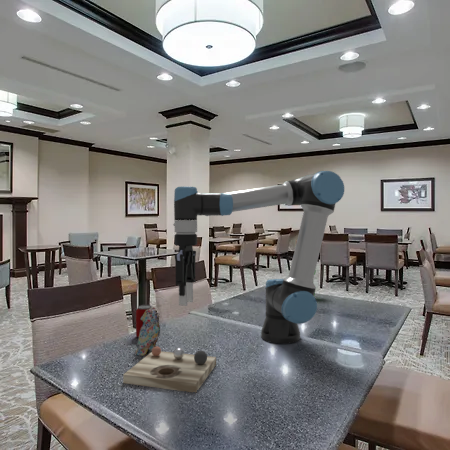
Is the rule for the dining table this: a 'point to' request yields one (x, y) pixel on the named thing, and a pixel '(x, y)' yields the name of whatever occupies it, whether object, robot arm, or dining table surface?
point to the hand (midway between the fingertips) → (186, 303)
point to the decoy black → (200, 357)
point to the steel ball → (178, 353)
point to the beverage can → (139, 314)
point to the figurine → (148, 332)
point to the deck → (170, 372)
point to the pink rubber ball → (156, 351)
